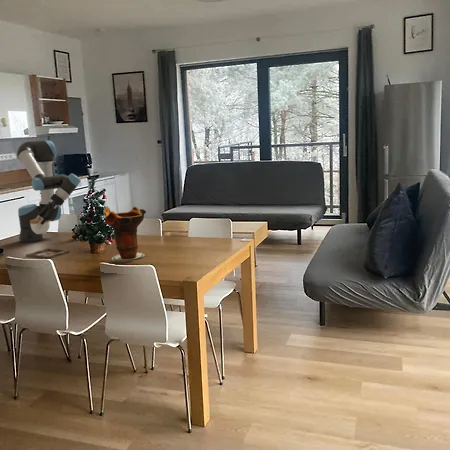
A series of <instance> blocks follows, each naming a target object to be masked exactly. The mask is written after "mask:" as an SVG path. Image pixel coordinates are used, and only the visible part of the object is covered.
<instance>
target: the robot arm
mask: <svg viewBox="0 0 450 450" xmlns="http://www.w3.org/2000/svg"><path fill="white" fill-rule="evenodd" d="M16 157H17V159H18V161H19V162H20V163H21V164H23V166H24V167H25V169H26V171H27V173H28V174H29V175H30V177H31V186H32V189H33V190H34V191H36V192H37V191H39V192H40V201H39V202H38V204H39V205H37V204H36V203H31V204H26V205H22V206H20V207H19V208H18V210H17V212H18V215H17V216H18V220H19V229H20V231H19V236H18V241H19V243H32V242H33V243H34V242H35V243H36V242H39V241H42V240H44V234H36V233H35V232H33V230H32V229H31V225H30V220H33V219H38V217H40V218H42V219H41V220H40V222H39V223H38V224H37V225H36V228H37V229H39V230H40V229H41V227H42V226H43V225H44V224H45V222H46V221H47V220H50V221H49V222H50V223H51V222H56V221H58V220H60V218H61V216H62V206H63V204H64V203H65V201H67V199H69V198H70V195H71V194H72V193H73V192H74V191H75V190H76V189H77V187H79V185H80V184H81V181H82V180H81V179H80V178H79V177H78V176H77V175H76V174H74V173H70V174H69V175H66V174H63V173H62V174H58V175H53V165H52V164H53V163H54V161H55V159H56V158H57V149H56V146H55V144H54V142H53V141H51V140H48V139H47V140H44V139H43V140H32V141H31V140H30V141H25V142H23V143H21V144H20V145H19V147H18V148H17V150H16ZM55 190H56V191H55ZM43 218H44V219H43Z"/></svg>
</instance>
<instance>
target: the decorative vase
mask: <svg viewBox="0 0 450 450" xmlns="http://www.w3.org/2000/svg"><path fill="white" fill-rule="evenodd" d="M146 213H147V211H146V210H145V209H143V208H140V209H139V207H138V206H133V207H132V208H131V210H129V211H123V212H122V211H121V212H115V211H112V210H111V209H110V208H104V210H103V214H104V216H105V217H104V224H107V225H108V226H109V227H111V228H112V229H113V235H114V241H115V245H116V255H114V256H113V257H112V258H111V260H112V261H113V262H131V261H135V260H137V259H141V258H143V257H145V253H144V254H143V252H138V250H139V244H138V237H137V236H138V234H137V233H138V228H139V226H140V224H141V223H142V222H143V221H144V218H145V214H146ZM117 252H118V254H117Z"/></svg>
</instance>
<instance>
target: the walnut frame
mask: <svg viewBox="0 0 450 450" xmlns="http://www.w3.org/2000/svg"><path fill="white" fill-rule="evenodd" d="M51 251H52V252H57V253H52V252H51ZM42 253H43V254H42ZM44 253H46V254H48V255H46V254H44ZM69 253H70V250H69V249H60V248H53V247H52V248H51V247H47V248H43V249H40V250H37V251H33V252H30V253H26V254H25V257H28V258H35V259H43V258H45V259H44V260H49V259H52V258H56V257H59V256H62V255H65V254H69Z"/></svg>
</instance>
